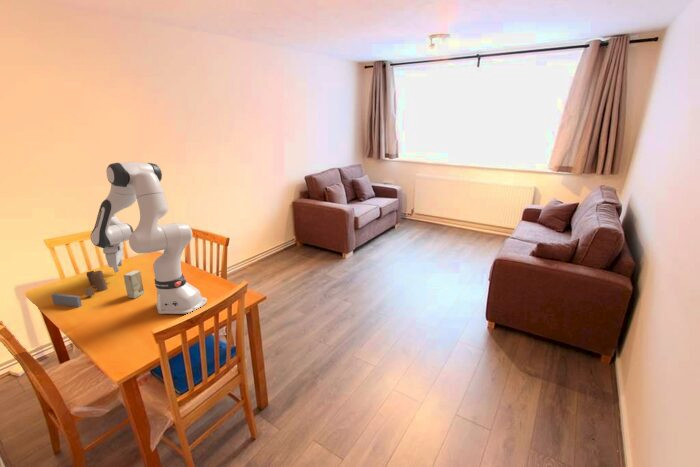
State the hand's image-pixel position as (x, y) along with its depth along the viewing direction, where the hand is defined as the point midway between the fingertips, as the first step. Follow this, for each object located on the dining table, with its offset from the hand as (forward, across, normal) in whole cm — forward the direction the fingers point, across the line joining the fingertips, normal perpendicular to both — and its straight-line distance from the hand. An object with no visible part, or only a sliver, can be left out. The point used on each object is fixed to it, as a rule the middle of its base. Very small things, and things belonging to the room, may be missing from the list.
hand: (118, 268), depth 184 cm
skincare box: (+6, +26, +11) cm, 29 cm away
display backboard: (+6, +24, -17) cm, 31 cm away
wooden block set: (+6, +11, -8) cm, 15 cm away
